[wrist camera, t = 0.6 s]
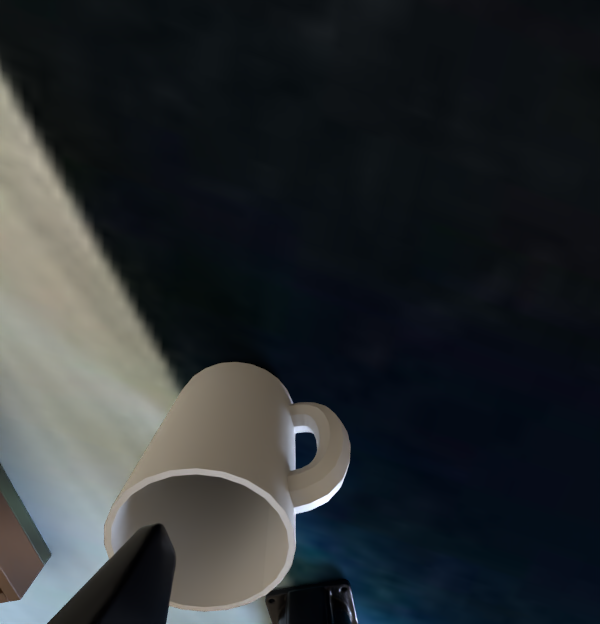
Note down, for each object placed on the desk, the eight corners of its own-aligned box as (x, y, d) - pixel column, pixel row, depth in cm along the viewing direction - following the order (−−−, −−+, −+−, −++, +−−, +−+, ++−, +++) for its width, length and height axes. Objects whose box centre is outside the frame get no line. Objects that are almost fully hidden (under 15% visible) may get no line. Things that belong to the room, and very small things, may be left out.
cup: (163, 371, 21) (71, 489, 12) (326, 337, 20) (350, 434, 12) (199, 467, 23) (143, 624, 14) (347, 438, 22) (380, 583, 14)
